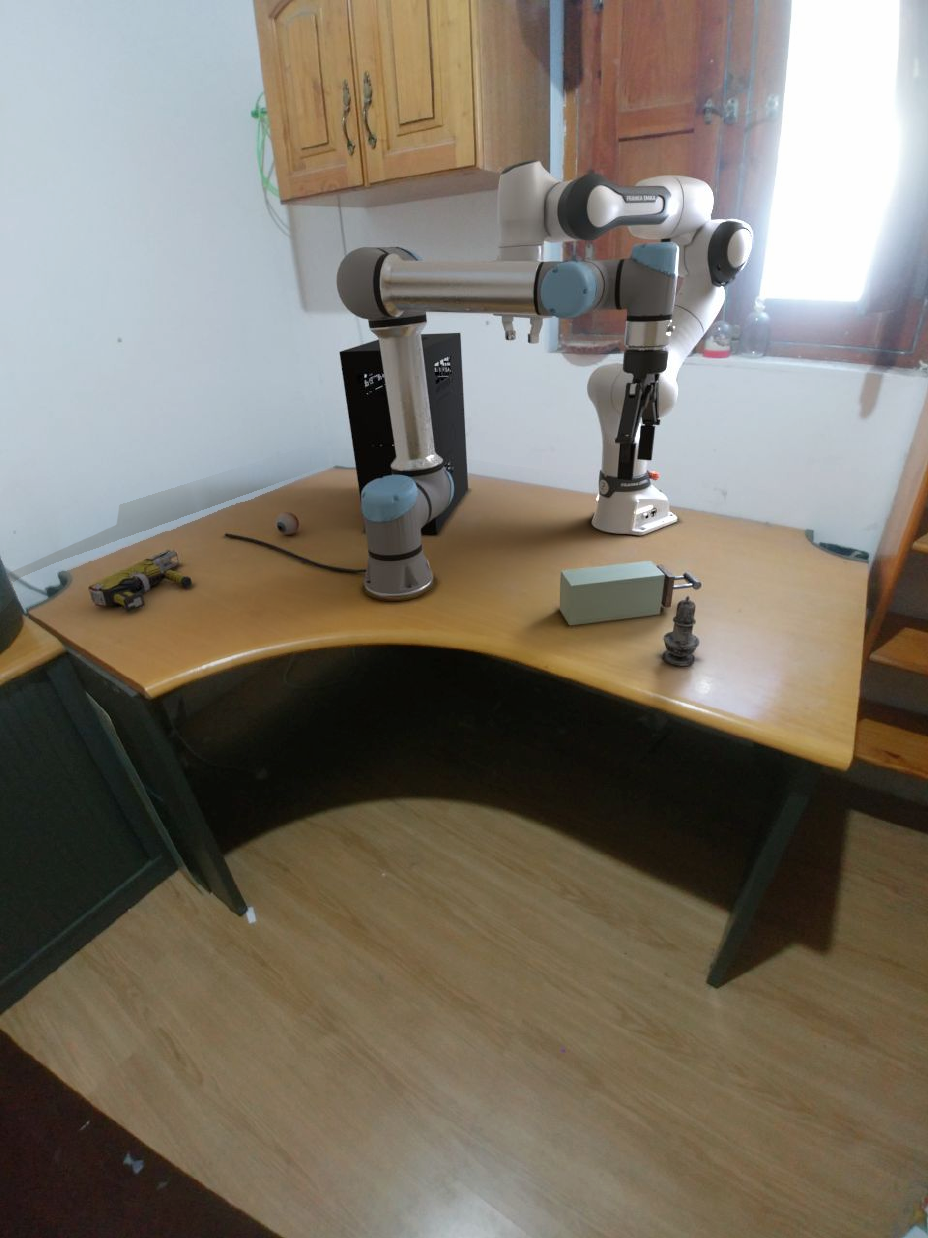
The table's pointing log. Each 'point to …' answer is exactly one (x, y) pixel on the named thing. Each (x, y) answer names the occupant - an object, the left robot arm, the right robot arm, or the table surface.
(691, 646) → the salt shaker
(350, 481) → the table surface
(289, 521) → the eyeball
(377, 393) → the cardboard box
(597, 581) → the cabinet
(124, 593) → the toy gun
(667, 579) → the drawer
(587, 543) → the table surface
